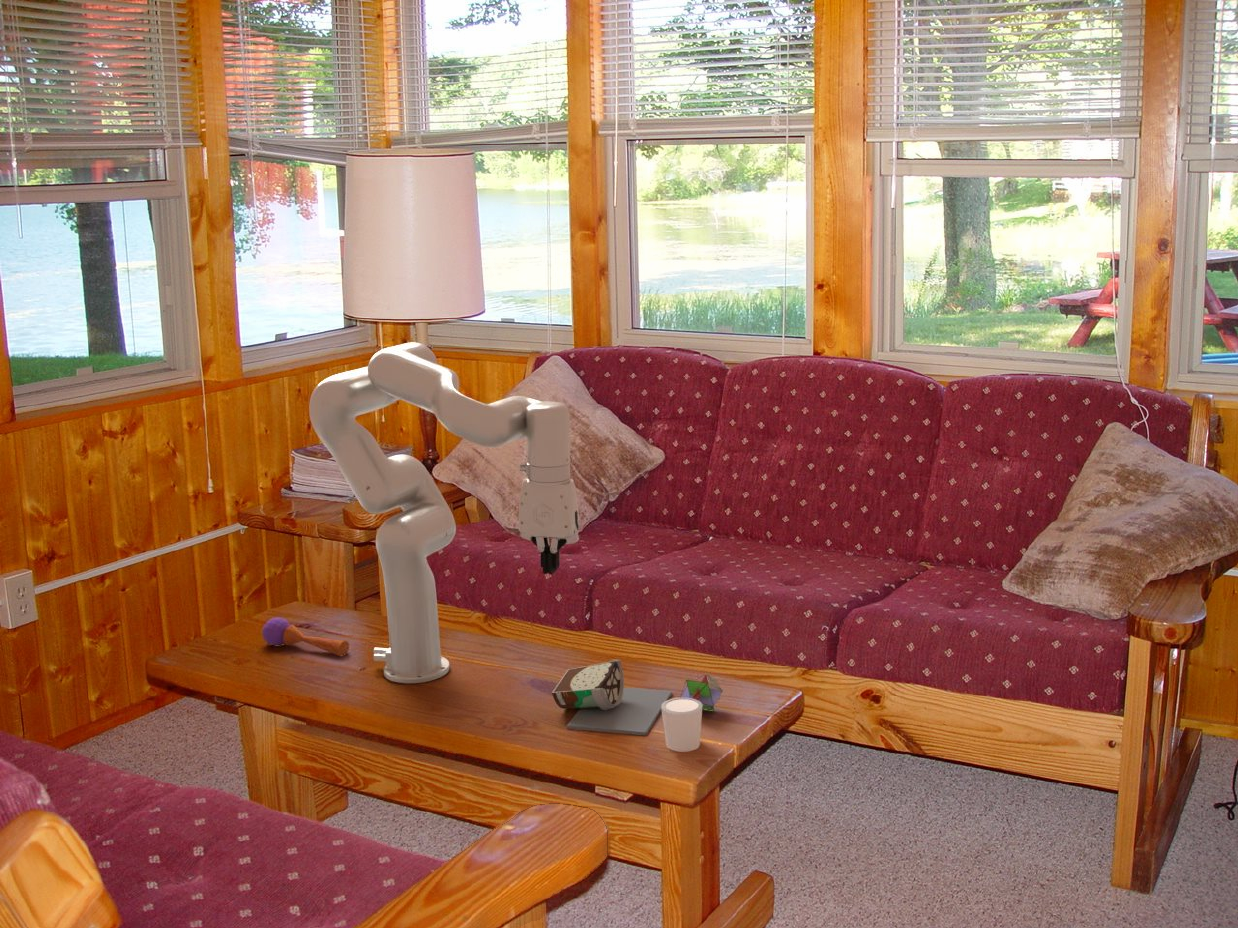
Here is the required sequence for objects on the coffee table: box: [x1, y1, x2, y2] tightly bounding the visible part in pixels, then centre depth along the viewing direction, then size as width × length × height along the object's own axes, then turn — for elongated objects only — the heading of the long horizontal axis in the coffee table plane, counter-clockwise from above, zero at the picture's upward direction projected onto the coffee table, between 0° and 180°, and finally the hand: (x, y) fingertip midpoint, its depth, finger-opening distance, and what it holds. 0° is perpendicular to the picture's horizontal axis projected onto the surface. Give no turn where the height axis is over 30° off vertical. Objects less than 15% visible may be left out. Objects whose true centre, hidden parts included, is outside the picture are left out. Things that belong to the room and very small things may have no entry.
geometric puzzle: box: [679, 673, 724, 715], centre depth 232 cm, size 7×7×8 cm
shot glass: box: [661, 697, 703, 753], centre depth 219 cm, size 7×7×7 cm
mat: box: [566, 686, 673, 737], centre depth 234 cm, size 14×18×1 cm
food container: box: [551, 659, 625, 710], centre depth 235 cm, size 12×6×10 cm
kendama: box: [262, 616, 350, 657], centre depth 271 cm, size 6×6×20 cm
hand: (550, 571), depth 237 cm, fingers closed
